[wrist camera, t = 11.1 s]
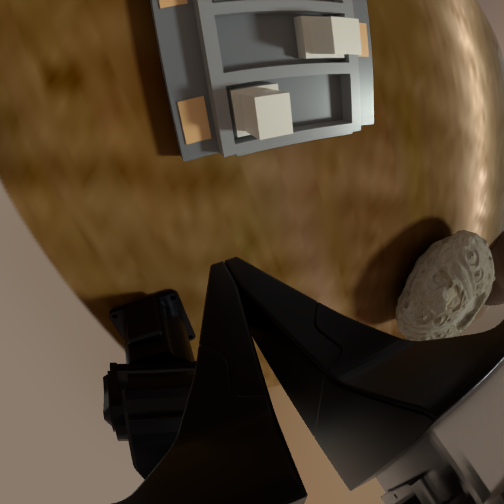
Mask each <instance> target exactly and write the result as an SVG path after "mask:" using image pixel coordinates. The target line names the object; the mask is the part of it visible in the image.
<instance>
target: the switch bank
mask: <svg viewBox="0 0 504 504" xmlns="http://www.w3.org/2000/svg"><path fill="white" fill-rule="evenodd" d="M150 4H151V10H152V16H153V22H154V28H155V34H156V39H157V45H158V50H159V56H160V61H161V66H162V71H163V76H164V81H165V86H166V91H167V96H168V101H169V106H170V110H171V115H172V119H173V124H174V129H175V133H176V137H177V142H178V146H179V150H180V155H181V157H182V159H183V161H184V162H185V161H189V160H193V159H196V158H200V157H204V156H207V155H211V154H215V153H220V154H221V155H222V156H223V157H227V156H231V155H236V156H241V155H245V154H249V153H253V152H258V151H262V150H267V149H271V148H276V147H281V146H285V145H290V144H295V143H300V142H306V141H311V140H316V139H322V138H328V137H334V136H340V135H346V134H352V132H353V131H360V130H361V125H369V124H374V91H373V67H372V51H371V38H370V28H369V18H368V10H367V2H366V0H223V1H213V0H150ZM298 16H320V17H330V16H333V17H345V18H355V19H359V28H360V38H361V50H362V55H354V54H344V58H308V59H299V58H298V49H297V41H296V33H295V25H294V17H298ZM265 83H278V89H279V91H284V92H289V94H290V103H291V114H292V125H293V134H288V135H283V136H278V137H273V138H268V139H263V140H259V139H257V138H256V137H254V136H252V135H247V136H242V137H236V136H235V135H234V134H233V128H232V122H231V116H230V109H229V103H228V97H227V91H226V90H227V89H233V88H239V87H245V86H251V85H258V84H265Z"/></svg>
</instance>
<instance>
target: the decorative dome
mask: <svg viewBox="0 0 504 504" xmlns="http://www.w3.org/2000/svg"><path fill="white" fill-rule="evenodd" d="M490 252H491V255H492V258H493V263H494V271H495V272H494V276H495V278H496V279H495V281H494V282H493V284H492V289H491V292H490V294H489V296H488V298H487V300H486V301H485V305H499V304H503V303H504V232H503V233H502V234H501V236H500V238H499V239H498V241H497V243H496V244H495V246H494V247H493V248H492V249H491V250H490Z"/></svg>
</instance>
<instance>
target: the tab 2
mask: <svg viewBox="0 0 504 504" xmlns="http://www.w3.org/2000/svg"><path fill="white" fill-rule="evenodd" d="M294 25H295V33H296V41H297V49H298V58H299V59H308V58H344V54H354V55H362V50H361V38H360V28H359V19H355V18H345V17H333V16H330V17H320V16H298V17H294Z"/></svg>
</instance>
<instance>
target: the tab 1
mask: <svg viewBox="0 0 504 504" xmlns="http://www.w3.org/2000/svg"><path fill="white" fill-rule="evenodd" d="M226 91H227V97H228V103H229V109H230V116H231V122H232V128H233V134H234V135H235V136H236V137H242V136H247V135H252V136H254V137H256V138H257V139H259V140H263V139H268V138H273V137H278V136H283V135H288V134H293V125H292V114H291V103H290V94H289V92H284V91H279V89H278V83H265V84H258V85H251V86H245V87H239V88H233V89H227V90H226Z"/></svg>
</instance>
